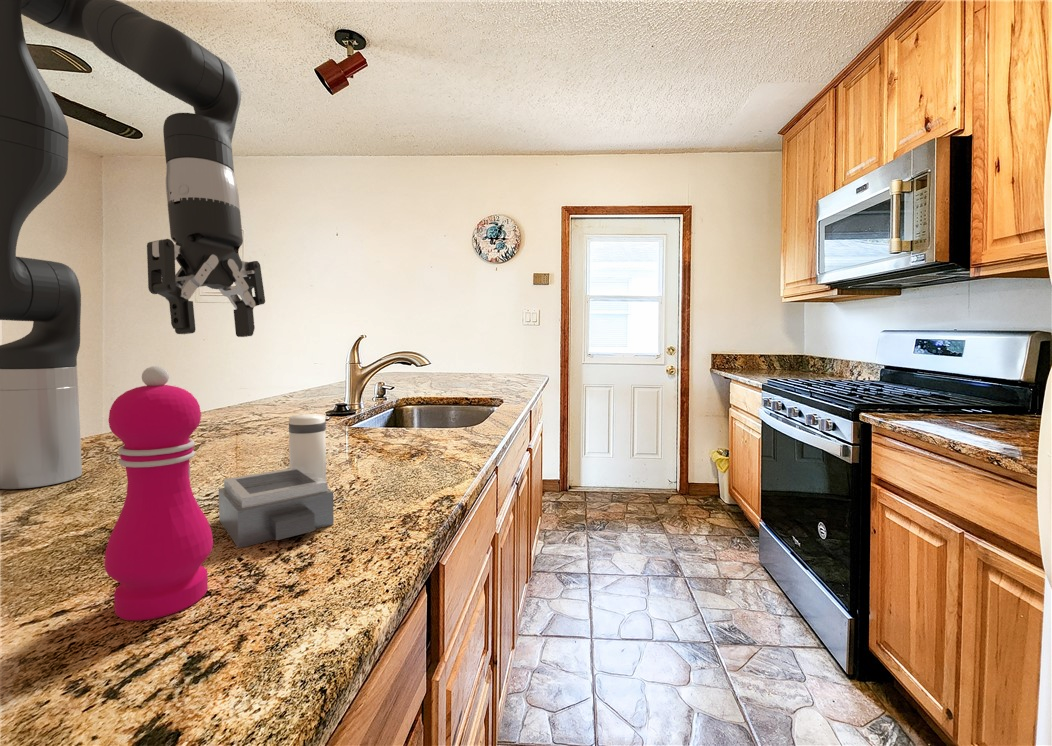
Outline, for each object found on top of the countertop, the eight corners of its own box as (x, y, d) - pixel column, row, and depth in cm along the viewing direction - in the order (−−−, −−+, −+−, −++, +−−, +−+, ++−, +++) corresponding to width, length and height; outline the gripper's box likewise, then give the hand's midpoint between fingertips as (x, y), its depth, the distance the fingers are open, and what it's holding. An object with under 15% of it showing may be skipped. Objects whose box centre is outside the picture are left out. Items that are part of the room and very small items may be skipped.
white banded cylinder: (285, 489, 69) (284, 416, 68) (319, 483, 72) (318, 412, 72) (296, 498, 65) (294, 420, 65) (331, 491, 69) (330, 417, 68)
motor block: (219, 520, 57) (218, 478, 57) (305, 502, 64) (305, 465, 64) (244, 556, 48) (242, 506, 48) (341, 530, 55) (340, 487, 55)
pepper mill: (233, 587, 42) (228, 365, 41) (146, 634, 35) (135, 370, 34) (177, 572, 45) (170, 362, 43) (85, 614, 38) (73, 366, 36)
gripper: (228, 226, 66) (239, 340, 67) (120, 191, 52) (134, 335, 53) (273, 217, 65) (284, 334, 65) (174, 179, 51) (188, 328, 51)
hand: (217, 335), depth 59 cm, fingers open, 8 cm apart
